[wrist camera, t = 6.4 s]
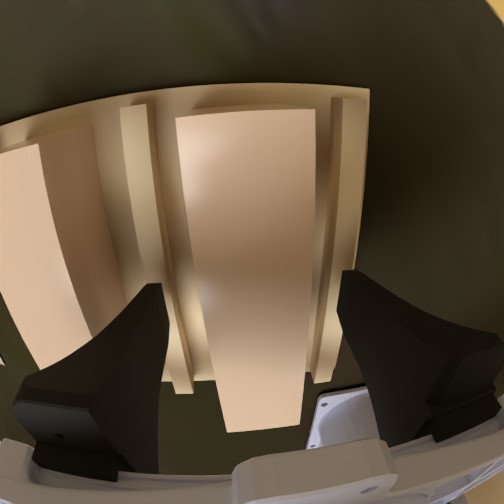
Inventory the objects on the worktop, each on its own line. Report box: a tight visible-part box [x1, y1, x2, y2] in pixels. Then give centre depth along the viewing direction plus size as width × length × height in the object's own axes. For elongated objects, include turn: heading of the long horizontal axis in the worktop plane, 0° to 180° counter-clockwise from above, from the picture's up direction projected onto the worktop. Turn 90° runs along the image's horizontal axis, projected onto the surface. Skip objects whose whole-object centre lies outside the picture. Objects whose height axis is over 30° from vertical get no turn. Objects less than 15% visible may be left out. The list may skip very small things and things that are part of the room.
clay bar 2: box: [175, 103, 316, 432], centre depth 13 cm, size 14×4×4 cm, turn 3°
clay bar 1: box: [0, 124, 128, 370], centre depth 12 cm, size 14×4×4 cm, turn 1°
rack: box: [0, 83, 370, 394], centre depth 14 cm, size 16×18×2 cm
